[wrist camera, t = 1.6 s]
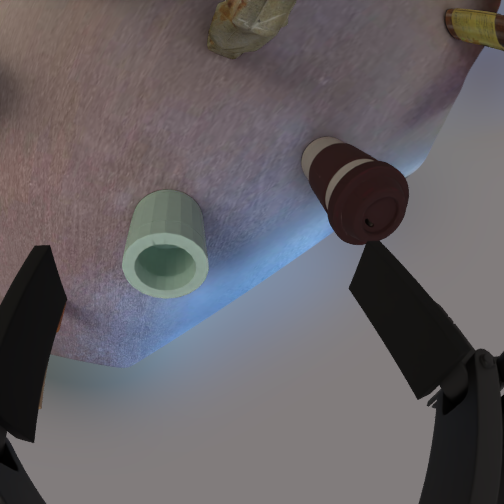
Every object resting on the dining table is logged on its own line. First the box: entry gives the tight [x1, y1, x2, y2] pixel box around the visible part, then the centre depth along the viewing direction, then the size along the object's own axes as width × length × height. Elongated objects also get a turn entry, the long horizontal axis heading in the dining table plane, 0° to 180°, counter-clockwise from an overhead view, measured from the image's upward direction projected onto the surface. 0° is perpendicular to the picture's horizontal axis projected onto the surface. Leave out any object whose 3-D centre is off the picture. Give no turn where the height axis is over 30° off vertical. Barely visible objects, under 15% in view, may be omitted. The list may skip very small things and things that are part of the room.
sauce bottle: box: [445, 8, 504, 51], centre depth 16 cm, size 6×6×20 cm
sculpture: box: [207, 0, 297, 59], centre depth 19 cm, size 6×7×15 cm
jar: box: [122, 190, 209, 298], centre depth 35 cm, size 10×10×10 cm
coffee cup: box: [301, 137, 409, 245], centre depth 32 cm, size 10×10×15 cm
